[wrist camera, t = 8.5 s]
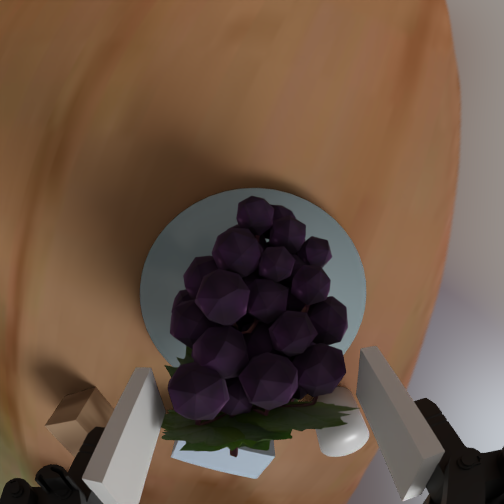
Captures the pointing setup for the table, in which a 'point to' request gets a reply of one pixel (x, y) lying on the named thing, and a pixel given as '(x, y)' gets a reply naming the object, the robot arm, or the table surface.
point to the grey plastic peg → (342, 426)
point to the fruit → (256, 336)
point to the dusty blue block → (228, 459)
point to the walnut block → (79, 418)
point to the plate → (201, 244)
